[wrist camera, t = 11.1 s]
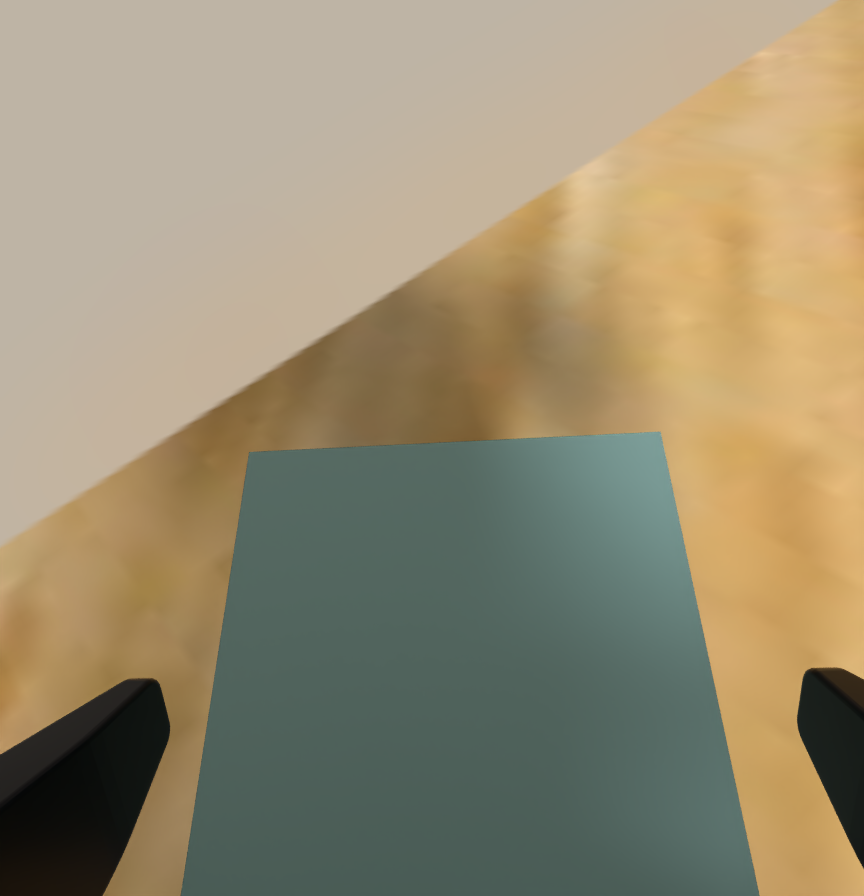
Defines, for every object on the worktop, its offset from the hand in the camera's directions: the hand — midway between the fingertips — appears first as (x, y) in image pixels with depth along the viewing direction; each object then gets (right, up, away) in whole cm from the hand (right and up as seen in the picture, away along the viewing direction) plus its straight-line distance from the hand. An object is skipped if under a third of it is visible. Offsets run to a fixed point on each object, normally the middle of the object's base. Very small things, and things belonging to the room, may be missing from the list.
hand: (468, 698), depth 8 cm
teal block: (+1, -5, +9) cm, 10 cm away
